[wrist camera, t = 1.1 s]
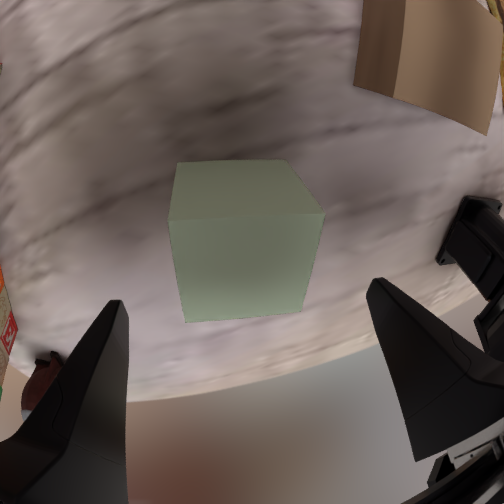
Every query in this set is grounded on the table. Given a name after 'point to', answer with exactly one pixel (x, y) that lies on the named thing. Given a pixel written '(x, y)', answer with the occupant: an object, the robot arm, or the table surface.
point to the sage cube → (242, 238)
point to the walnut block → (432, 56)
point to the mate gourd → (39, 382)
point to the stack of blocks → (5, 326)
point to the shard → (500, 3)
